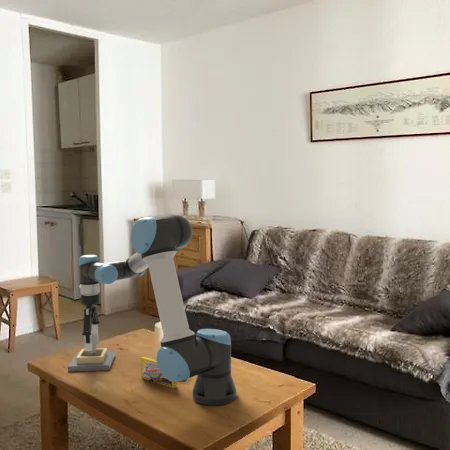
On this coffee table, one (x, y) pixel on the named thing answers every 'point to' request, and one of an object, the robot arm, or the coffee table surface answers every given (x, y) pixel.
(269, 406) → the coffee table surface
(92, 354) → the lightbulb
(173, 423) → the coffee table surface
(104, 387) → the coffee table surface
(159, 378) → the candy box
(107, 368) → the lamp base
